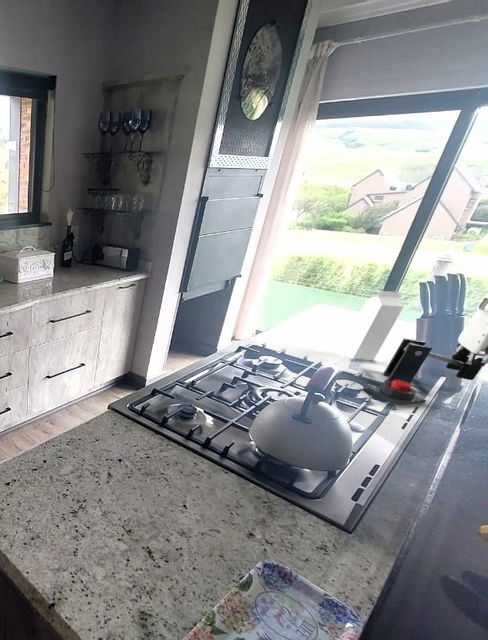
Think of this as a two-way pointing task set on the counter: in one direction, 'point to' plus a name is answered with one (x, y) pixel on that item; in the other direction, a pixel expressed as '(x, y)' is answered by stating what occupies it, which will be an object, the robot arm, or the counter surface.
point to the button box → (396, 394)
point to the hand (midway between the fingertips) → (459, 373)
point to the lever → (444, 358)
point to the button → (401, 385)
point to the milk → (373, 325)
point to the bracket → (407, 360)
